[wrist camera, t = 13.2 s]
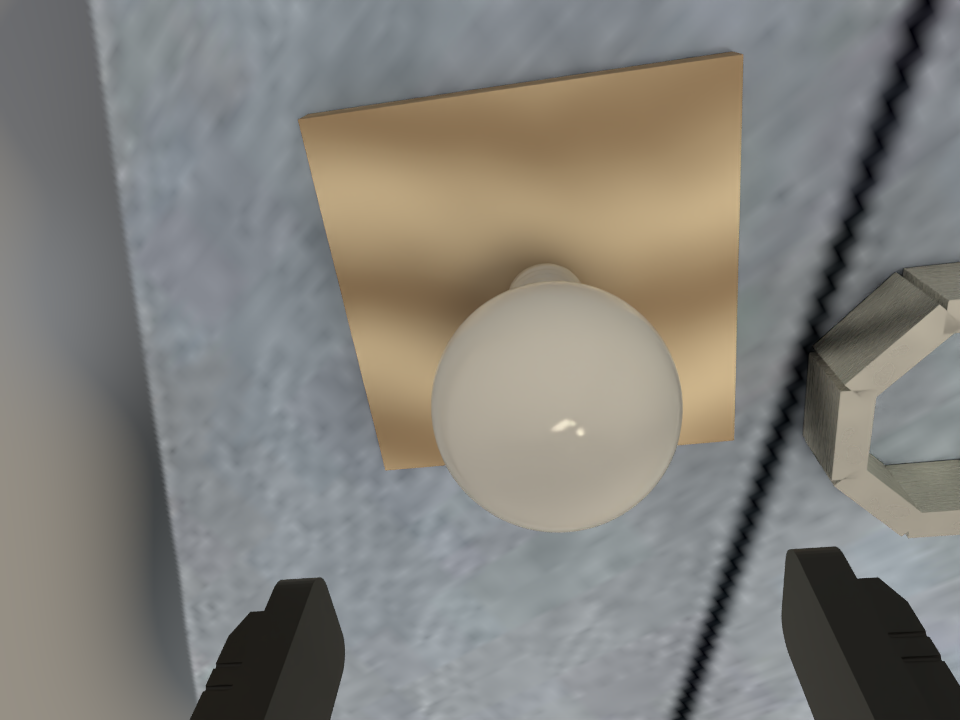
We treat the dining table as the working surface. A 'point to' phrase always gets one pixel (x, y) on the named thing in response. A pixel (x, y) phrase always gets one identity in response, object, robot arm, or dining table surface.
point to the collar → (867, 373)
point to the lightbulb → (556, 404)
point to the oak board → (536, 222)
